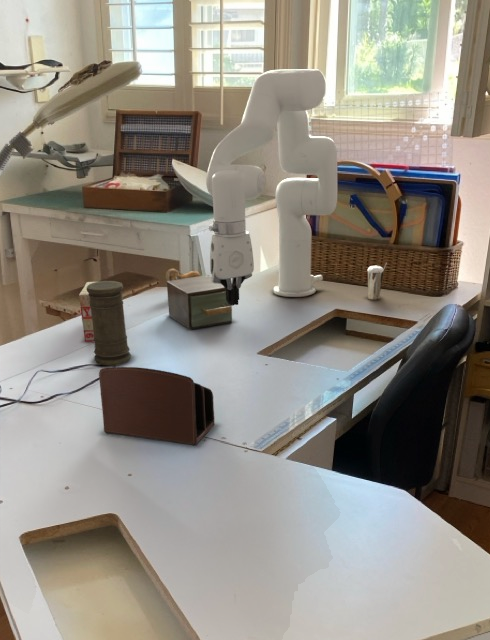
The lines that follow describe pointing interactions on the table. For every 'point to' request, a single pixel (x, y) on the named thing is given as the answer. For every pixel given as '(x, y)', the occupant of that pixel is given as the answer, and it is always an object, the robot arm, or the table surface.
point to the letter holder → (155, 405)
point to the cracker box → (86, 314)
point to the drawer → (210, 308)
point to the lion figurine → (180, 275)
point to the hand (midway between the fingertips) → (232, 303)
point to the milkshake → (374, 281)
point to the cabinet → (181, 295)
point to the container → (108, 323)
